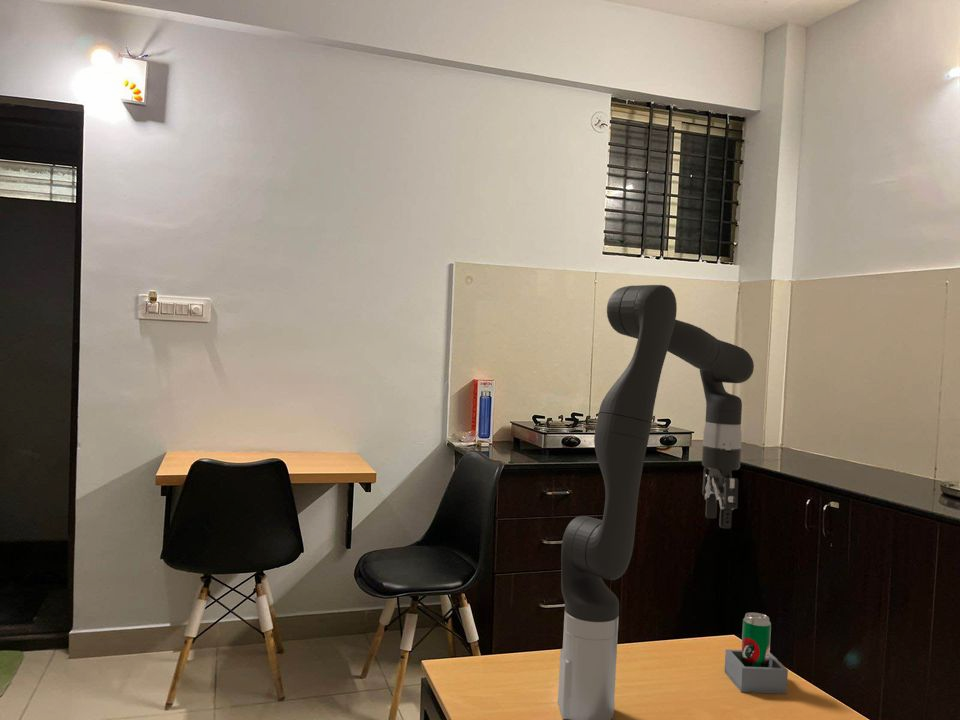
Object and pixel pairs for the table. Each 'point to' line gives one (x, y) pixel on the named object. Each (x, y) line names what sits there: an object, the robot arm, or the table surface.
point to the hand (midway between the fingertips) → (717, 522)
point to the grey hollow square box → (756, 675)
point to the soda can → (756, 640)
